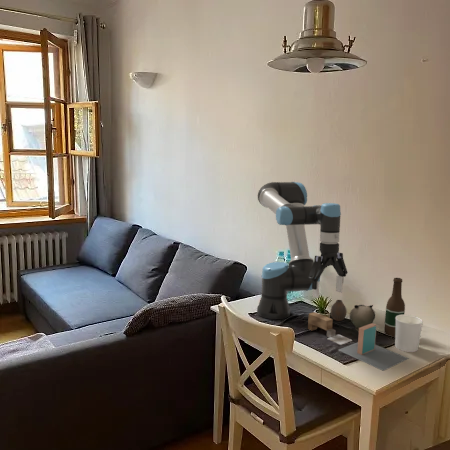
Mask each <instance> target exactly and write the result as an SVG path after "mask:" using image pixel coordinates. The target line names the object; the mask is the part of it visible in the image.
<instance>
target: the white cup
mask: <svg viewBox="0 0 450 450" xmlns="http://www.w3.org/2000/svg"><path fill="white" fill-rule="evenodd" d="M423 322H424V321H423V319H422V318H420V317H418V316H416V315H412V314H404V315H398V316H396V326H395V337H394V346H395V348H396V349H397V350H399V351H403V352H406V353H407V352H408V353H414V352H417V351H418V350H419V345H420V341H421V334H422V333H421V332H422V328H423Z"/></svg>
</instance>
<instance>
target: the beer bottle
mask: <svg viewBox="0 0 450 450" xmlns="http://www.w3.org/2000/svg"><path fill="white" fill-rule="evenodd" d="M392 282H393V286H392V291H391V296H390V297H389V298H388V300H387V301H386V307H385V316H384V327H383V332H384V335H386V336H389V337H392V338H395V326H396V316H398V315H405V312H406V303H405V301H404V299H403V296H402V283H403V278H401V277H393V280H392Z"/></svg>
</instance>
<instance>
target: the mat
mask: <svg viewBox="0 0 450 450" xmlns="http://www.w3.org/2000/svg"><path fill="white" fill-rule="evenodd" d="M357 350H358V341H357V342H353V343H352V344H350V345H349V344H348V345H347V346H344V347H342V348H339V349H338V351H339V352H341V353H343V354H345V355H347V356H350V357H352V358H354V359H356V360H358V361H361V362H362V363H365V364H368V366H369V365H370V366H371V367H373V368H376V369H378V370H381V371H383V372H384V371H386V370H388V369H390V368H392V367H394V366H396V365H398V364H401V363H403V362H405V361H407V360H409V357H406V356H404V355H401V354H400V353H396V352H395V351H393V350H390V349H387V348H385V347H382V346H379V345H377V344H375V350H372V351H370V352H367V353H365V354H363V355H361V354H358V353H357Z"/></svg>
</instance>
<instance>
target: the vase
mask: <svg viewBox="0 0 450 450" xmlns="http://www.w3.org/2000/svg"><path fill="white" fill-rule="evenodd" d="M347 312H348V311H347V307H346V305H345V303H344V302H343V300H342V299H337V300H336V301H335V302H334V303H333V304H332V306H331V308H330V315H331V319H333V321H337V322H341V321H343V320H345V318H346V317H347Z"/></svg>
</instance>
